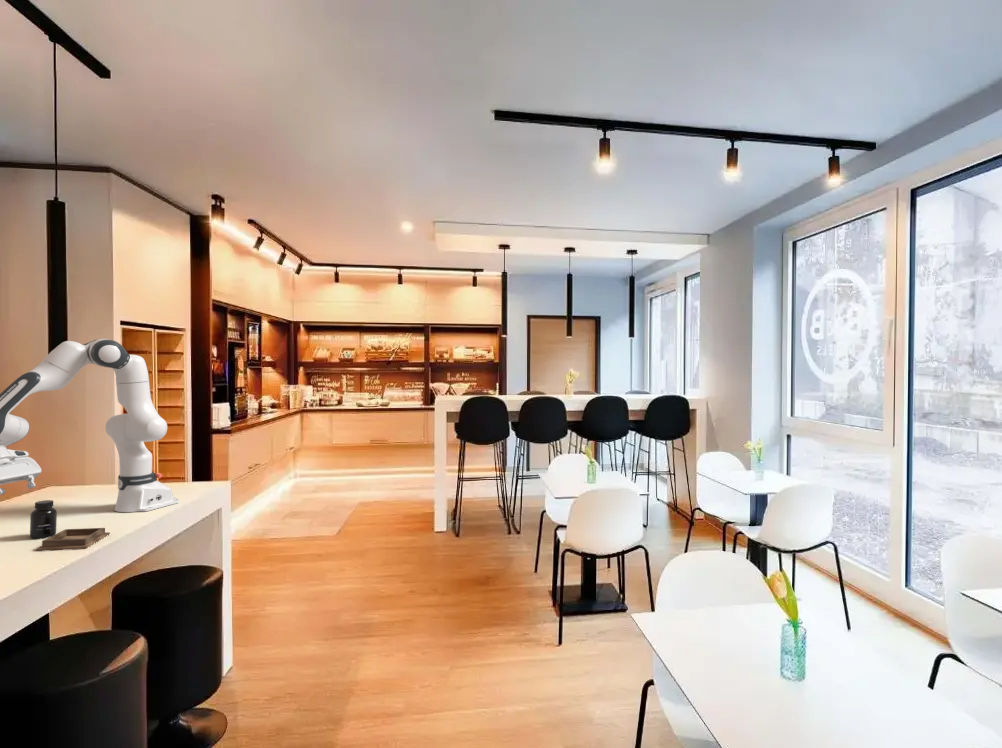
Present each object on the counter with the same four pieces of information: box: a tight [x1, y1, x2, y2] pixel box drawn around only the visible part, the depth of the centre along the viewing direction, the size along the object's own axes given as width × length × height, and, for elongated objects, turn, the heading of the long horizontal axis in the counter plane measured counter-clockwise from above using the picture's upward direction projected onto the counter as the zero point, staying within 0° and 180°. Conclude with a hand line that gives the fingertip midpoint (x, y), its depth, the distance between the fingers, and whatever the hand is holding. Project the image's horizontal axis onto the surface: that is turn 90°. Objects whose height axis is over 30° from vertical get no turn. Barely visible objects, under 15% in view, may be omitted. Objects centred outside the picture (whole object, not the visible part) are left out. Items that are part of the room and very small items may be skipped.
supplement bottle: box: [29, 499, 58, 540], centre depth 176 cm, size 7×7×12 cm
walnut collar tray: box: [35, 527, 111, 552], centre depth 171 cm, size 14×14×3 cm
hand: (17, 490), depth 178 cm, fingers open, 8 cm apart
